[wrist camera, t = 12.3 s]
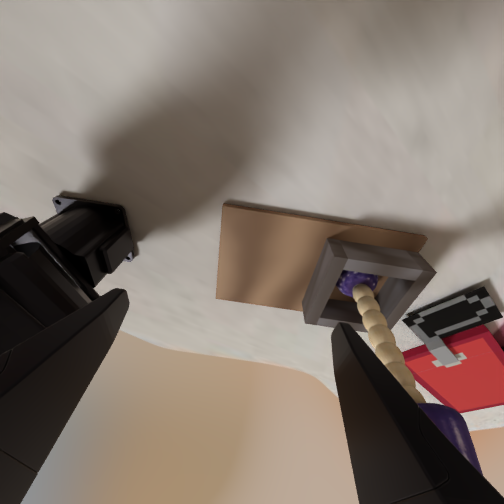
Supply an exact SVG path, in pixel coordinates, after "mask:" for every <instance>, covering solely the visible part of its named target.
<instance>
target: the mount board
mask: <svg viewBox="0 0 504 504" xmlns="http://www.w3.org/2000/svg"><path fill="white" fill-rule="evenodd" d="M427 240H428V238H427V237H425V236H424V235H418V234H412V233H406V232H399V231H393V230H387V229H381V228H374V227H368V226H362V225H356V224H349V223H343V222H337V221H331V220H325V219H318V218H312V217H306V216H300V215H293V214H287V213H281V212H275V211H268V210H262V209H256V208H250V207H243V206H237V205H231V204H225V203H224V204H223V206H222V219H221V233H220V247H219V261H218V274H217V288H216V299H222V300H228V301H235V302H242V303H249V304H255V305H262V306H269V307H276V308H282V309H289V310H296V311H303V314H304V320H305V323H306V324H313V325H320V326H326V327H333V328H335V327H336V325H337V323H338V322H344V323H349V324H350V325H351V326H352V327H353V329H354V330H355V331H360V332H367V333H369V332H368V331H367V329H366V328H365V327H364V324H363V321H362V317H363V316H362V315H361V314H360V313H359V311H358V308H357V302H356V301H355V299H354V298H353V297H350V296H347V295H345V294H343V293H342V292H341V291H340V290H339V289H338V288H337V286H336V283H337V281H338V279H339V277H340V275H341V273H342V271H343V270H348V271H354V272H361V273H367V274H374V275H378V283H377V286H376V288H375V289H374V290H373V291H372V292H373V294H374V299H375V300H376V301H377V302H378V304H379V307H380V312H381V313H382V314H383V315H384V317H385V319H386V321H387V328H389V329H390V330H391V329H392V328H393V326H394V325H395V324H396V323H397V322H398V320H399V319H400V318H401V317H402V315H403V314H404V313H405V312H406V310H407V309H408V308H409V307H410V305H411V304H412V303H413V302H414V300H415V299H416V298H417V297H418V295H419V294H420V293H421V292H422V290H423V289H424V288H425V287H426V285H427V284H428V283H429V282H430V281H431V279H432V278H433V277H434V276H435V274H436V273H437V272H436V271H435V270H434V269H433V268H432V267H431V266H430V265H429V264H428V263H427V262H426V260H425V259H424V258H423V257H422V256H421V255H420V254H419V253H418V252H419V251H420V250H421V248H422V247H423V245H424V244H425V242H426V241H427Z"/></svg>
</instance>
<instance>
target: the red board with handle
mask: <svg viewBox="0 0 504 504" xmlns="http://www.w3.org/2000/svg"><path fill="white" fill-rule="evenodd" d="M500 318H503V316H502V315H501V313H500V311H499V310H498V308H497V307H496V305H495V303H494V302H493V300H492V298H491V297H490V295H489V293H488V292H487V290H486V289H485V287H481V288H479V289H476V290H474V291H472V292H469V293H467V294H464V295H462V296H459V297H457V298H454V299H452V300H449V301H447V302H445V303H442V304H440V305H437V306H435V307H432V308H430V309H427V310H425V311H422V312H420V313H417V314H415V315H413V316H410V317H408V318H405V319H403V320H402V321H403V322H404V323H405V324H406V325H407V326H408V327H409V328H410V329H411V330H412V331H413V332H414V333H415V334H416V335H417V336H418V337H419V338H420V339H421V340H422V341H423V342H424V345H422V346H419V347H416V348H413V349H410V350H407V351H404V352H402V354H403V356H404V360H405V366H406V367H407V368H408V369H409V370H410V371H411V373H412V375H413V377H414V379H415V380H416V381H417V382H418V383H419V384H421V385H422V386H423V387H424V388H425V389H426V390H427V391H429V392H430V393H431V394H432V395H433V396H434V397H436V398H437V399H438V400H439V401H440V402H441V403H443V404H444V405H445V406H448V407H451V408H453V409H455V410H456V411H458V412H459V413H464V412H469V411H474V410H479V409H484V408H490V407H495V406H500V405H504V348H501V347H500V346H499V344H498V343H497V341H496V340H495V338H494V337H493V336H492V334H491V333H490V331H489V330H488V329H487V328H486V327H485V326H484V324H485V323H488V322H491V321H494V320H497V319H500ZM482 324H483V325H482ZM479 325H480V326H479ZM476 326H477V327H476ZM462 331H463V332H462ZM459 332H460V333H459ZM456 333H457V334H456ZM453 334H454V335H453ZM450 335H451V336H450ZM447 336H448V337H447ZM444 337H445V338H444ZM441 338H442V339H441Z"/></svg>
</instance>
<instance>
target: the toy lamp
mask: <svg viewBox="0 0 504 504" xmlns="http://www.w3.org/2000/svg"><path fill="white" fill-rule="evenodd" d="M377 283H378V275H374V274H367V273H361V272H354V271H348V270H343V271H342V273H341V275H340V277H339V279H338V281H337V283H336V286H337V288H338V289H339V290H340V291H341V292H342V293H343V294H345V295H347V296H350V297H353V298H354V299H355V301H356V302H357V308H358V311H359V313H360V314H361V315H362V316H363V317H362V321H363V324H364V327H365V328H366V329H367V331H368V332H369V333H368V336H369V340H370V343H371V344H372V346H373V347H374V348H375V354H376V356H377V357H378V358H379V359H380V360H381V362H382V363H383V364H384V365H385V366H386V367H387V369H388V370H389V371H390V372H391V373H392V375H393V376H394V377H395V378H396V379H397V380H398V382H399V383H400V384H401V385H402V386H403V388H404V389H405V390H406V391H407V392H408V393H409V395H410V396H411V397H412V398H413V399H414V400H415V402H416V403H417V404H418V405H419V407H420V408H421V409H422V410H423V411H424V412H425V413H426V414H427V416H428V417H429V418H430V419H431V420H432V421H433V423H434V424H435V425H436V426H437V427H438V428H439V429H440V431H441V432H442V433H443V434H444V435H445V436H446V437H447V438H448V439H449V440H450V442H451V443H452V444H453V445H454V446H455V447H456V448H457V449H458V450H459V451H460V452H461V453H462V454H463V455H464V457H465V458H466V459H467V460H468V461H469V462H470V463H471V464H472V465H473V466H474V467H475V468H476V469H477V470H478V471H479V472H480V473H481V474H482V471H481V467H480V464H479V461H478V458H477V455H476V452H475V448H474V445H473V443H472V440H471V436H470V433H469V430H468V427H467V425H466V422H465V420H464V418H463V417H462V415H461V414H460V413H459V412H458V411H456V410H455V409H453V408H451V407H448V406H444V405H440V404H435V403H426V401H425V399H424V397H423V396H422V395H421V393H420V392H419V391H418V390H417V389H416V388H415V387H416V384H415V379H414V377H413V375H412V373H411V371H410V370H409V369H408V368H407V367H406V366H405V360H404V356H403V354H402V352H401V351H400V349H399V348H398V347H397V346H396V341H395V337H394V335H393V333H392V332H391V330H390V329H389V328H387V321H386V319H385V317H384V315H383V314H382V313H381V312H380V307H379V304H378V302H377V301H376V300H375V299H374V294H373V292H372V291H373V290H374V289H375V288H376V286H377ZM482 475H483V474H482Z"/></svg>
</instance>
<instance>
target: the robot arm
mask: <svg viewBox="0 0 504 504" xmlns="http://www.w3.org/2000/svg"><path fill="white" fill-rule="evenodd" d="M53 203H54V206H55V208H56V211H57V214H56V215H55V216H53V217H51V218H49V219H48V220H46V221H44V222H42V223H41V224H39V222H38V221H37V219H36V218H35V217H34V216H33V217H28V218H24V219H19V218H18V217H14V216H12V215H10V214H7V213H5V212H3V213H0V504H20V503H21V502H22V500H23V498H24V496H25V495H26V493H27V491H28V490H29V488H30V486H31V484H32V483H33V481H34V479H35V477H36V476H37V472H39V470H40V468H41V467H42V465H43V463H44V462H45V460H46V458H47V456H48V455H49V453H50V451H51V449H52V448H53V446H54V444H55V443H56V441H57V439H58V437H59V436H60V434H61V432H62V430H63V429H64V427H65V425H66V423H67V422H68V420H69V418H70V416H71V415H72V413H73V411H74V410H75V408H76V406H77V404H78V403H79V401H80V399H81V397H82V396H83V394H84V392H85V391H86V389H87V387H88V385H89V384H90V382H91V380H92V378H93V377H94V375H95V373H96V372H97V370H98V368H99V366H100V365H101V363H102V361H103V359H104V358H105V356H106V354H107V353H108V351H109V349H110V347H111V345H112V344H113V342H114V340H115V338H116V335H117V333H118V331H119V329H120V326H121V324H122V322H123V320H124V317H125V315H126V313H127V311H128V308H129V299H128V295H127V291H126V290H125V289H119V288H115V289H113V290H111V291H109V292H107V293H106V294H104V295H102V296H99V294H98V293H97V292H96V291H95V290H94V289H93V288H94V287H96V285H97V284H98V283H99V282H100V281H101V280H102V279H103V278H104V277H105V275H106V274H111V273H113V272H114V271H115V269H116V268H117V267H118V266H119V265H120V264H121V263H122V261H127V262H131V261H132V260H133V259H134V253H133V243H132V238H131V232H130V229H129V227H128V222H127V217H126V212H125V209H124V208H123V207H122V206H121V205H116V204H110V203H103V202H97V201H91V200H84V199H78V198H72V197H65V196H56V197H54V198H53ZM117 209H118V210H120V212H119V211H118V210H117ZM129 257H130V258H129ZM331 343H332V354H333V366H334V375H335V381H336V386H337V391H338V396H339V402H340V406H341V412H342V417H343V422H344V427H345V432H346V438H347V443H348V448H349V453H350V458H351V463H352V468H353V474H354V479H355V484H356V489H357V494H358V500H359V504H504V498H503V496H501V494H500V493H499V492H498V491H497V490H496V489H495V488H494V487H493V486H492V485H491V484H490V483H489V482H488V481H487V480H486V479H485V477H484V476H483V475H482V474H481V473H480V472H479V471H478V470H477V469H476V468H475V467H474V466H473V465H472V464H471V463H470V462H469V461H468V460H467V459H466V458H465V457H464V455H463V454H462V453H461V452H460V451H459V450H458V449H457V448H456V447H455V446H454V445H453V444H452V443H451V442H450V440H449V439H448V438H447V437H446V436H445V435H444V434H443V433H442V432H441V431H440V429H439V428H438V427H437V426H436V425H435V424H434V423H433V421H432V420H431V419H430V418H429V417H428V416H427V414H426V413H425V412H424V411H423V410H422V409H421V408H420V407H419V405H418V404H417V403H416V402H415V400H414V399H413V398H412V397H411V396H410V395H409V393H408V392H407V391H406V390H405V389H404V388H403V386H402V385H401V384H400V383H399V382H398V380H397V379H396V378H395V377H394V376H393V375H392V373H391V372H390V371H389V370H388V369H387V367H386V366H385V365H384V364H383V363H382V362H381V360H380V359H379V358H378V357H377V356H376V355H375V353H374V352H373V351H372V350H371V349H370V347H369V346H368V345H367V344H366V343H365V342H364V340H363V339H362V338H361V337H360V336H359V335H358V333H357V332H356V331H355V330H354V329H353V327H352V326H351V325H350V324H349V323H344V322H338V323H337V325H336V327H335V329H334V330H333V332H332V335H331Z"/></svg>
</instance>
